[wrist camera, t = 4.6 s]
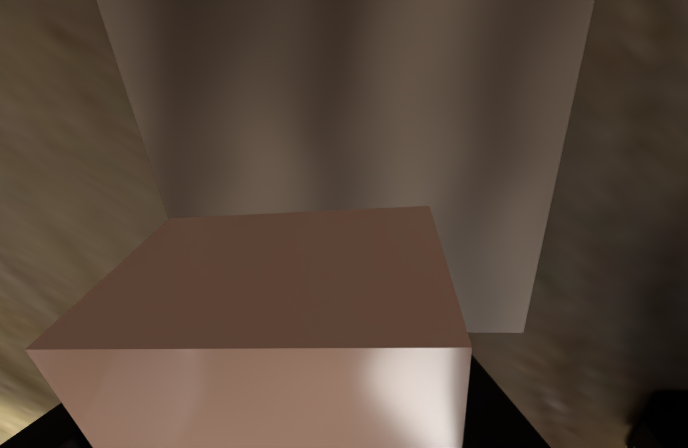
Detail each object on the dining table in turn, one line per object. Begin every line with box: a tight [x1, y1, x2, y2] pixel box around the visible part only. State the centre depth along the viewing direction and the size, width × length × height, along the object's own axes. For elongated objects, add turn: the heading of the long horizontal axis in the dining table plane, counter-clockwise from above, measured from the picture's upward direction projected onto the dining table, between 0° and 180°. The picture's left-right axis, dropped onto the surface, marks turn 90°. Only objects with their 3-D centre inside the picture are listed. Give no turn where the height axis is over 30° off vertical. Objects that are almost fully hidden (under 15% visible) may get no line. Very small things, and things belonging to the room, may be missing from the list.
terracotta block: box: [25, 206, 472, 448], centre depth 8 cm, size 6×6×4 cm
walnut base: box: [96, 0, 595, 333], centre depth 17 cm, size 18×18×2 cm
